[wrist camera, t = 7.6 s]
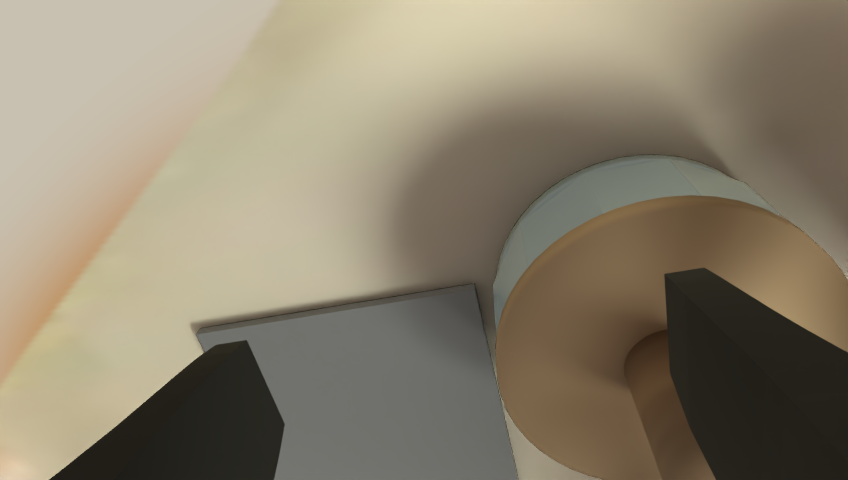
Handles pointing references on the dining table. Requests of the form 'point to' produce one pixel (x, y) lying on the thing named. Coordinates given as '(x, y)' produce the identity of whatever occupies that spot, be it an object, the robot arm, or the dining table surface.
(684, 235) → the lid
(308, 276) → the dining table surface
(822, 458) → the robot arm
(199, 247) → the dining table surface
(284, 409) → the mat
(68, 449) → the dining table surface
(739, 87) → the dining table surface
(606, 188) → the bowl
